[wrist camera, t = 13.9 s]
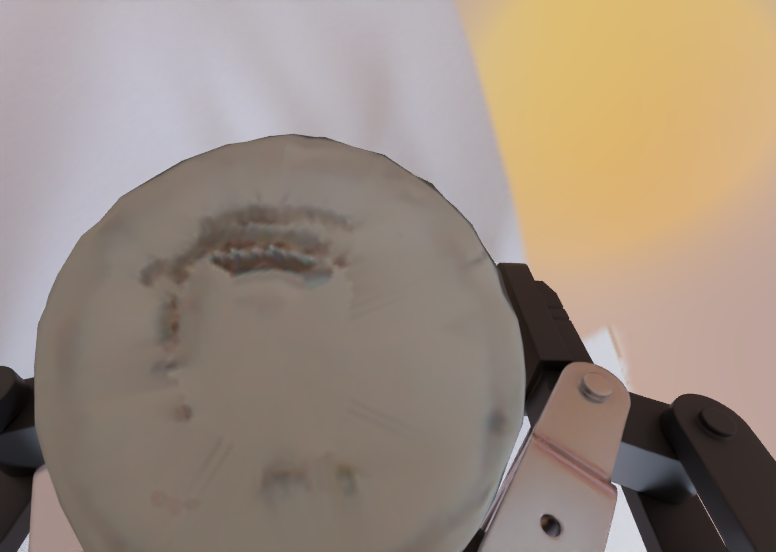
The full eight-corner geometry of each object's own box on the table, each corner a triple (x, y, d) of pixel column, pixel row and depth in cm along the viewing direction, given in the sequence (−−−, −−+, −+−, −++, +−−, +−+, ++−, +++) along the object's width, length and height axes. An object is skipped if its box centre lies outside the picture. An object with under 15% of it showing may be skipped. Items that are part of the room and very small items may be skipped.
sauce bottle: (360, 247, 23) (191, -179, 3) (443, 294, 23) (839, 152, 3) (309, 334, 22) (-311, 487, 2) (393, 384, 22) (447, 1022, 2)
